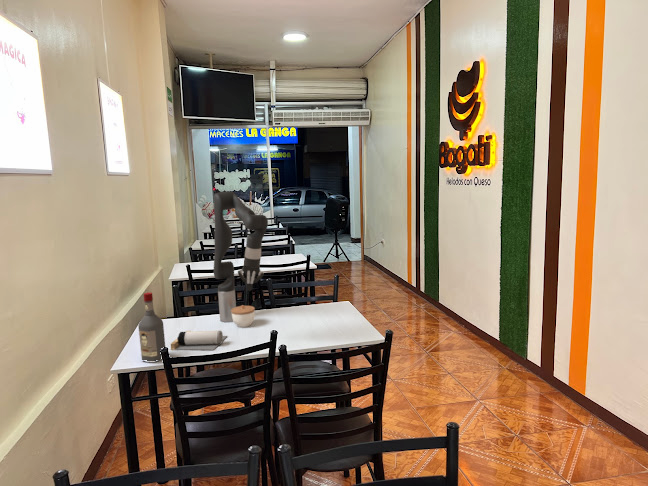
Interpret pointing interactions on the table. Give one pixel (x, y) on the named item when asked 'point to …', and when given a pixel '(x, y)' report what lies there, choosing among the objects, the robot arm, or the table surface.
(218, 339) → the travel mug
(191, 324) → the table surface
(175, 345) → the rail
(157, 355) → the liquor
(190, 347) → the mat
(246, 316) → the lidded bowl
